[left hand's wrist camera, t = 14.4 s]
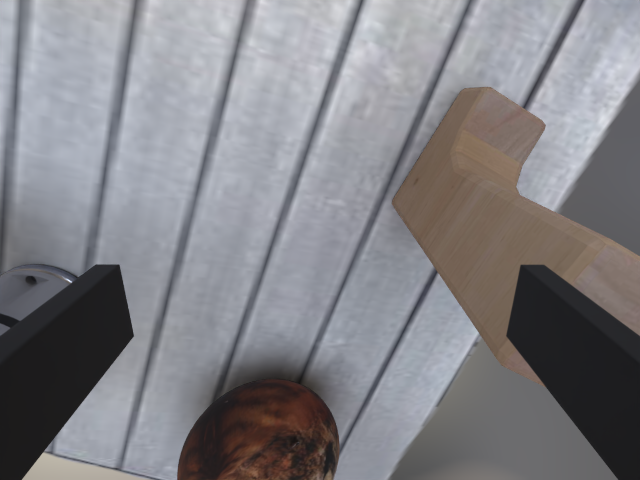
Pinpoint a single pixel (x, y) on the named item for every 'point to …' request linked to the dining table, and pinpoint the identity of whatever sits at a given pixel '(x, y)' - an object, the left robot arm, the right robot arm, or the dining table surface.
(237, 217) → the dining table surface
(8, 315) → the left robot arm
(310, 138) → the dining table surface
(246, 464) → the plush toy
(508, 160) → the decorative block
